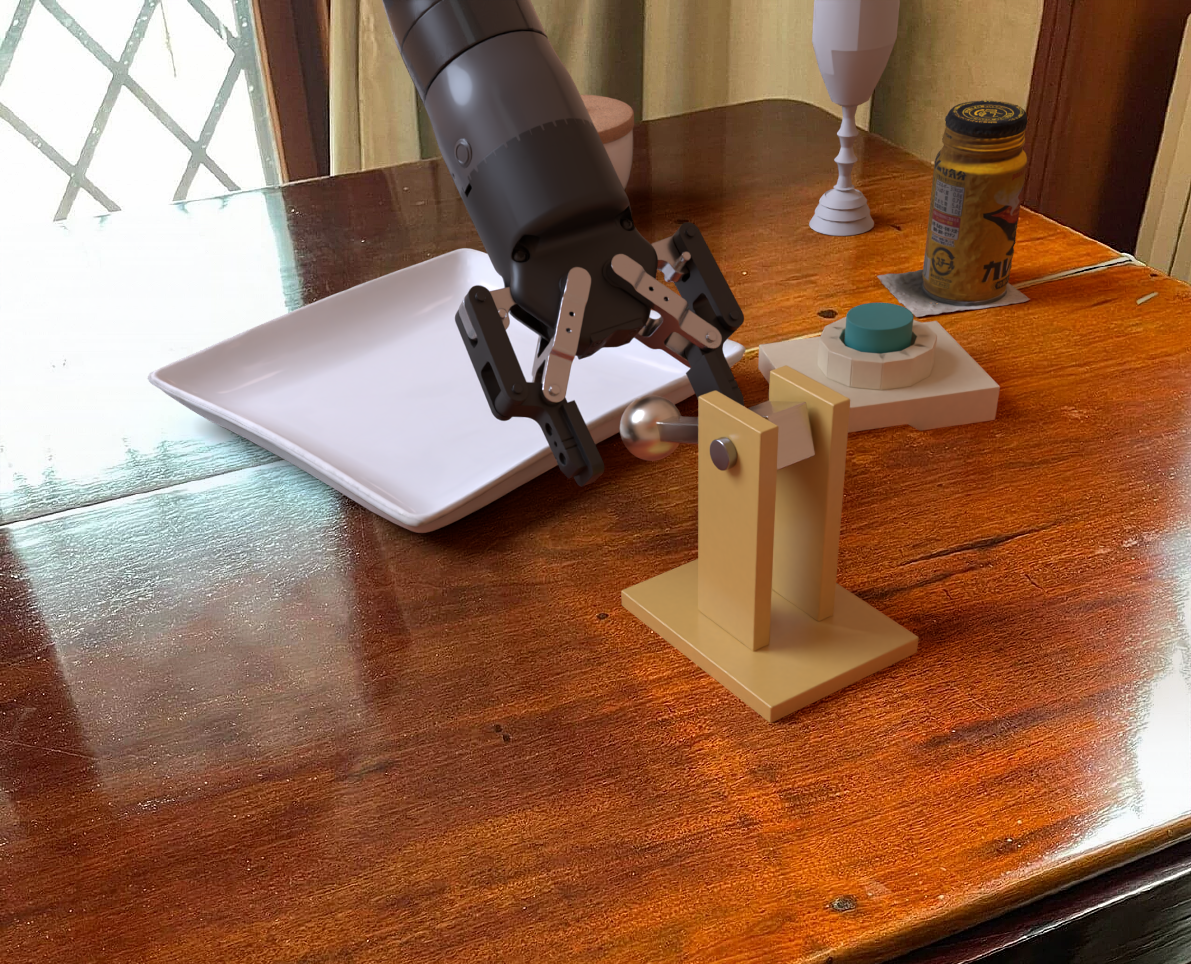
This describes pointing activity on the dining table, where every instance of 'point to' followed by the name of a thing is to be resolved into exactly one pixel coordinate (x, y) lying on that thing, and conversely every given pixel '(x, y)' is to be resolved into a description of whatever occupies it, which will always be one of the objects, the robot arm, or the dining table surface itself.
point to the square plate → (404, 393)
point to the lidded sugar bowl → (613, 131)
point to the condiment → (970, 214)
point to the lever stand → (770, 562)
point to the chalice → (850, 93)
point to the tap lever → (660, 428)
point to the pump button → (878, 328)
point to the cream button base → (893, 378)
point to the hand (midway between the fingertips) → (662, 453)
